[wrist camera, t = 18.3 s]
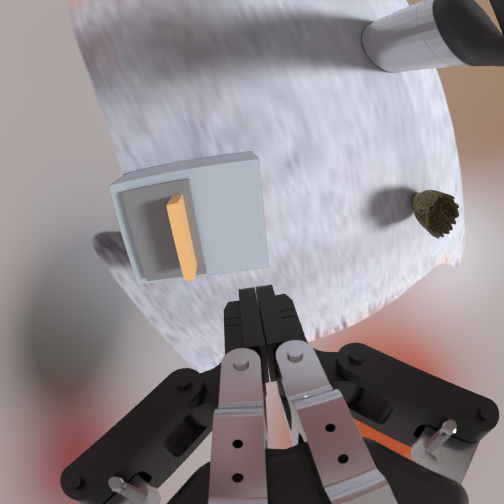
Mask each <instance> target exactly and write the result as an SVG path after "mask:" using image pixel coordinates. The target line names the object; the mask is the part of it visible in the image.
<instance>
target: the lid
mask: <svg viewBox="0 0 504 504" xmlns="http://www.w3.org/2000/svg"><path fill="white" fill-rule="evenodd" d="M122 196H123V200H124V204H125V208H126V212H127V216H128V220H129V223H130V227H131V230H132V234H133V238H134V241H135V244H136V248H137V251H138V254H139V258H140V261H141V264H142V267H143V270H144V273H145V276H146V279H147V281H153V280H161V279H169V278H177V277H184V281H189V280H195V275H200V274H206V273H207V269H206V265H205V260H204V255H203V250H202V246H201V241H200V236H199V231H198V225H197V220H196V215H195V210H194V204H193V199H192V193H191V187H190V181H189V178H187V179H181V180H176V181H170V182H165V183H160V184H155V185H150V186H145V187H140V188H135V189H131V190H126V191H123V192H122Z"/></svg>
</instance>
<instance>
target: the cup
mask: <svg viewBox="0 0 504 504" xmlns="http://www.w3.org/2000/svg"><path fill="white" fill-rule="evenodd" d="M453 199H455V198H454V197H453V196H451V195H449V194H445V193H442V192H439V191H435V190H426V191H423V192H422V193H417V194H415V195H414V197H413V199H412V208H413V209H414V214H415V217H416V219H417V220H418V222H419V223H420V224H421V225H422V226H423V227H424V228H425V229H426V230H427V231H428V232H429V233H430V234H431V235H432V236H435V237H436V238H439V237H440V236H441V237H444V234H449V231H450V230H453V228H452V225H451V224H456V221H455V218H457V217H458V216H459V212H458V210H457V209H458V208H459V206H458V204H456V203H455V202H454V200H453ZM443 233H444V234H443Z"/></svg>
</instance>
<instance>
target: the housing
mask: <svg viewBox="0 0 504 504" xmlns="http://www.w3.org/2000/svg"><path fill="white" fill-rule="evenodd" d="M187 178H189V181H190V187H191V193H192V199H193V204H194V210H195V215H196V220H197V225H198V231H199V236H200V241H201V246H202V250H203V255H204V260H205V265H206V269H207V273H206V274H200V275H195V277H202V276H209V275H217V274H224V273H232V272H239V271H246V270H253V269H261V268H268V267H269V260H268V248H267V237H266V226H265V215H264V204H263V194H262V183H261V173H260V163H259V159H258V157H257V156H256V155H255V154H254V153H253V152H252V151H251V152H242V153H234V154H227V155H220V156H213V157H206V158H200V159H194V160H188V161H182V162H177V163H171V164H166V165H161V166H156V167H152V168H147V169H142V170H138V171H133V172H129V173H128V174H126V175H124V176H123V177H121V178H120V179H118V180H117V181H115V182H114V183H112V184H111V185H109V189H110V193H111V197H112V201H113V205H114V209H115V213H116V216H117V220H118V224H119V227H120V231H121V234H122V237H123V241H124V244H125V247H126V250H127V253H128V257H129V260H130V263H131V266H132V269H133V272H134V274H135V277H136V280H137V283H138V284H146V283H155V282H163V281H171V280H179V279H184V277H177V278H169V279H161V280H153V281H147V279H146V276H145V273H144V270H143V267H142V264H141V261H140V258H139V254H138V251H137V248H136V244H135V241H134V238H133V234H132V230H131V227H130V223H129V220H128V216H127V212H126V208H125V204H124V200H123V196H122V192H123V191H126V190H131V189H135V188H140V187H145V186H150V185H155V184H160V183H165V182H170V181H176V180H181V179H187Z"/></svg>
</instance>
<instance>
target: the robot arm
mask: <svg viewBox="0 0 504 504" xmlns="http://www.w3.org/2000/svg"><path fill="white" fill-rule="evenodd" d="M489 1H490V3H491V5H492V8H493V10H494V12H495V15H496V17H497V20H498V22H499V25H500V28H501V30H502V33H501V32H500V31H499V30H498V29H497V27H496V26H495V25H494V23H493V22H492V21H491V20H490V18H489V16H488V15H487V14H486V12H485V11H484V10H483V9H482V8H481V7H480V6H479V5H478V4H477V3H476V2H475V1H474V0H424V1H422V2H419V3H416V4H414V5H411V6H409V7H406V8H404V9H402V10H399V11H397V12H395V13H392V14H390V15H388V16H386V17H384V18H381V19H379V20H377V21H375V22H373V23H371V24H369V25H368V26H367V27H366V28H365V29H364V31H363V35H362V43H363V47H364V50H365V52H366V54H367V55H368V57H369V59H370V60H371V61H372V62H373V63H374V64H375V65H376V66H378V67H379V68H381V69H382V70H384V71H387V72H392V73H395V72H403V71H412V70H420V69H430V68H442V67H458V66H504V0H489ZM502 34H503V35H502ZM256 294H257V298H256ZM239 300H240V301H233V302H228V303H227V305H226V307H225V309H224V335H225V356H224V357H223V359H222V362H221V363H220V364H219V365H218V366H217V367H215V368H213V369H211V370H209V371H206V372H203V373H199V372H197V371H196V370H194V369H190V368H183V369H178V370H176V371H174V372H172V373H171V374H170V375H169V376H168V377H167V378H165V379H164V380H163V381H162V382H161V383H160V384H159V385H158V386H157V387H156V388H155V389H154V390H153V391H152V392H151V393H150V394H148V395H147V396H146V397H145V398H144V399H143V400H142V401H141V402H140V403H139V404H138V405H137V406H135V407H134V408H133V409H132V410H131V411H130V412H129V413H128V414H127V415H126V416H125V417H123V418H122V419H121V420H120V421H119V422H118V423H117V424H116V425H115V426H113V427H112V428H111V429H110V430H109V431H108V432H107V433H106V434H105V435H103V436H102V437H101V438H100V439H99V440H98V441H97V442H95V443H94V444H93V445H92V446H91V447H90V448H89V449H87V450H86V451H85V452H84V453H83V454H82V455H80V456H79V457H78V458H77V459H76V460H75V461H73V462H72V463H71V464H70V465H69V466H68V467H66V468H65V469H64V471H63V472H62V474H61V479H60V482H61V487H62V489H63V491H64V493H65V494H66V495H67V496H68V497H70V498H72V499H74V500H76V501H78V502H80V503H82V504H160V494H159V492H158V490H157V489H158V487H160V486H161V484H163V483H164V481H166V480H167V479H168V478H169V477H170V476H171V475H172V473H174V472H175V470H176V469H177V468H178V467H179V466H180V465H181V464H182V463H183V462H184V461H185V460H186V459H187V458H188V457H189V456H190V455H191V453H192V452H193V451H194V450H195V449H196V448H197V447H198V446H199V445H200V444H201V443H202V441H203V440H204V439H205V438H206V437H207V436H208V435H209V434H210V432H211V431H212V446H211V461H210V462H208V463H206V464H205V465H203V466H202V467H200V468H199V469H198V470H197V471H196V472H195V473H194V474H193V475H192V476H191V477H190V478H189V479H188V481H187V482H186V483H185V484H184V485H183V486H182V487H181V488H180V490H179V491H178V492H177V493H176V494H175V495H174V496H173V497H172V498H171V499H170V500H169V502H168V503H167V504H469V500H468V495H467V493H466V491H465V489H464V488H463V486H462V485H461V483H462V481H463V479H464V477H465V474H466V472H467V470H468V468H469V465H470V463H471V461H472V458H473V456H474V453H475V451H476V448H477V445H478V443H479V441H480V440H481V439H482V438H483V437H484V436H485V435H486V434H487V433H489V432H490V431H491V430H492V429H493V428H494V427H495V426H496V424H497V422H498V420H499V410H498V407H497V405H496V404H495V403H494V402H493V401H492V400H491V399H488V398H486V397H484V396H481V395H479V394H476V393H474V392H471V391H469V390H466V389H464V388H461V387H459V386H457V385H454V384H452V383H449V382H447V381H445V380H442V379H440V378H438V377H435V376H433V375H431V374H428V373H426V372H424V371H422V370H419V369H417V368H415V367H413V366H410V365H408V364H406V363H404V362H401V361H399V360H397V359H395V358H393V357H390V356H388V355H386V354H384V353H381V352H379V351H377V350H375V349H373V348H371V347H369V346H367V345H364V344H361V343H350V344H347V345H345V346H343V347H342V348H341V349H340V350H339V352H323V351H319V350H316V349H314V348H313V347H312V346H311V345H310V344H308V342H307V340H306V338H305V335H304V332H303V329H302V326H301V323H300V321H299V318H298V316H297V312H296V310H295V307H294V304H293V301H292V300H291V299H290V298H289V297H288V296H287V295H286V294H281V295H275V294H274V290H273V287H272V285H266V286H259V287H256V293H255V288H254V287H252V288H245V289H239ZM267 363H268V365H267ZM268 368H269V374H270V379H271V382H273V381H277V386H278V394H279V400H280V403H281V406H282V409H283V413H284V416H285V419H286V423H287V426H288V429H289V432H290V437H291V442H292V447H290V448H288V449H269V439H268V425H267V411H266V395H267V393H266V385H265V383H267V382H269V374H268ZM353 418H355V419H357V420H358V421H360V422H362V423H364V424H366V425H368V426H370V427H371V428H373V429H375V430H377V431H379V432H381V433H383V434H385V435H387V436H389V437H391V438H393V439H395V440H397V441H399V442H401V443H403V444H405V445H408V446H410V447H411V454H412V457H413V459H414V461H416V462H418V463H419V464H418V463H416V462H413V461H411V460H410V459H408V458H406V457H404V456H402V455H400V454H398V453H396V452H394V451H392V450H391V449H389V448H387V447H385V446H383V445H382V444H380V443H378V442H376V441H374V440H371V439H368V438H365V437H362V436H361V433H360V431H359V429H358V427H357V425H356V423H355V421H354V419H353Z"/></svg>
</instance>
